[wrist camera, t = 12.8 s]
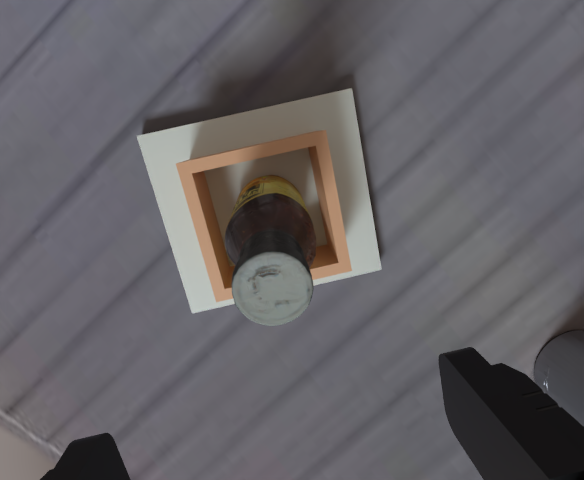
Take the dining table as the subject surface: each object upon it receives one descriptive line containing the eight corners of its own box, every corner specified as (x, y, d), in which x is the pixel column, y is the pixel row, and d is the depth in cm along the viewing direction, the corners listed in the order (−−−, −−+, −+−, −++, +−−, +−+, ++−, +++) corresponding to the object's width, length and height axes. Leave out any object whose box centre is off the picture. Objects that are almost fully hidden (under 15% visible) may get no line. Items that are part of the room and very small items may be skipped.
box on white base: (348, 89, 37) (369, 78, 30) (377, 265, 42) (401, 291, 35) (141, 135, 37) (112, 135, 30) (194, 307, 42) (180, 343, 34)
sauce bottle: (248, 164, 37) (231, 195, 18) (311, 185, 38) (359, 237, 18) (228, 228, 38) (192, 323, 19) (288, 248, 39) (312, 356, 20)
